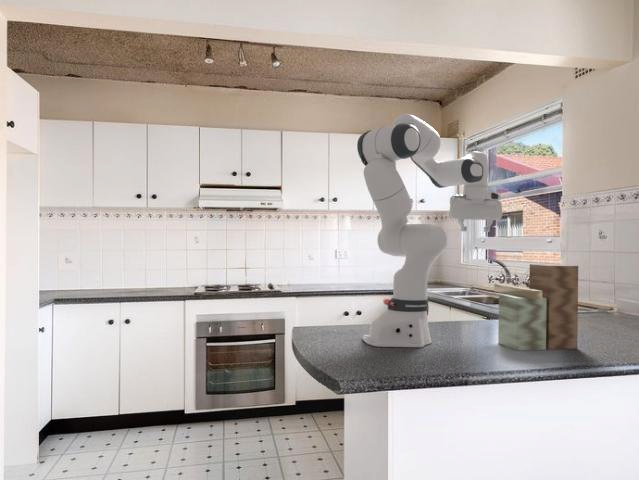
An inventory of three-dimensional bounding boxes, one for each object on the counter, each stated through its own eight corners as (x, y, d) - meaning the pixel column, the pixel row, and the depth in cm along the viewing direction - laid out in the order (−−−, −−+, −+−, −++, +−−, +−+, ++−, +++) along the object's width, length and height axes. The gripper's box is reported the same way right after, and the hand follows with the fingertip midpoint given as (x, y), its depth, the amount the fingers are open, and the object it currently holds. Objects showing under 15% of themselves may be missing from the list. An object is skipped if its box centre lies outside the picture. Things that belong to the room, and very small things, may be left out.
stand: (516, 350, 139) (517, 265, 139) (498, 343, 149) (499, 264, 149) (577, 348, 143) (578, 266, 143) (555, 341, 153) (556, 264, 153)
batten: (534, 299, 137) (534, 290, 137) (494, 291, 159) (494, 283, 159) (542, 299, 137) (542, 290, 137) (501, 291, 159) (501, 283, 159)
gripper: (454, 193, 168) (453, 231, 168) (504, 195, 171) (504, 231, 171) (446, 195, 174) (446, 231, 174) (495, 196, 177) (495, 232, 177)
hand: (475, 231), depth 172 cm, fingers open, 8 cm apart
